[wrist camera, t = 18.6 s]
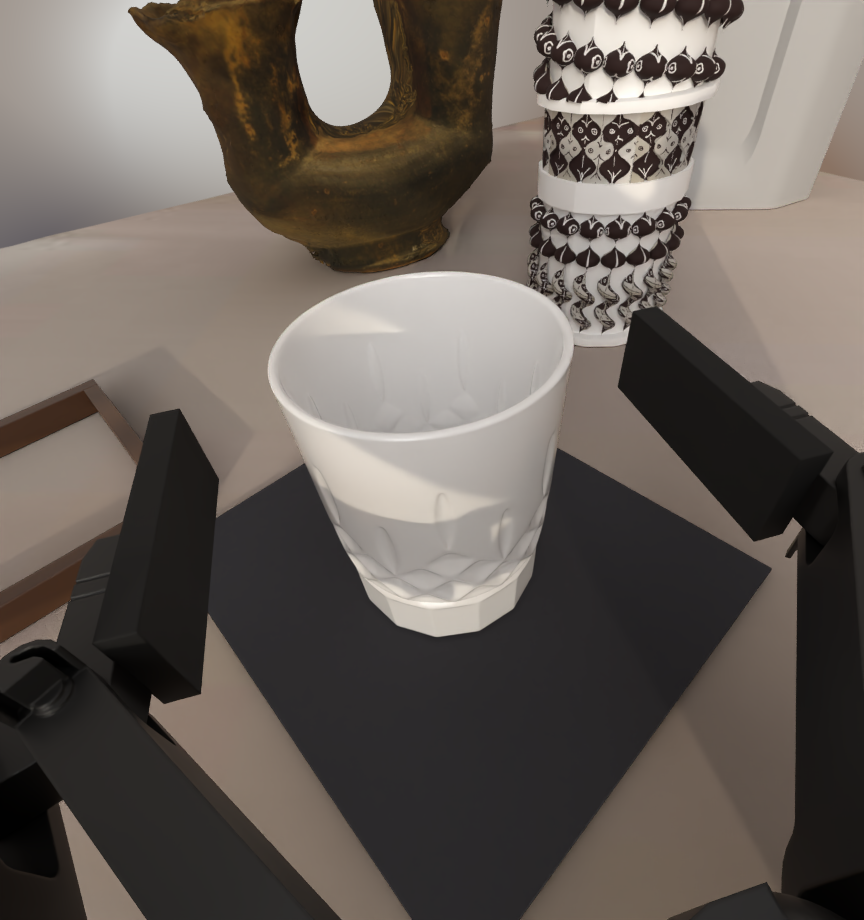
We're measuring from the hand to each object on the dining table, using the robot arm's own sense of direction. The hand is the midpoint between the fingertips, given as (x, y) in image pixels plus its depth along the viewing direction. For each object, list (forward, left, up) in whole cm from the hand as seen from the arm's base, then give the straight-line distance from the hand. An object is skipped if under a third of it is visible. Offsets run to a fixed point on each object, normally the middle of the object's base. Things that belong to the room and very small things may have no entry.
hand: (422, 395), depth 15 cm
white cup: (0, 0, -8) cm, 8 cm away
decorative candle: (-7, +20, -8) cm, 23 cm away
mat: (0, 0, -8) cm, 8 cm away
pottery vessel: (-27, +18, -8) cm, 33 cm away
